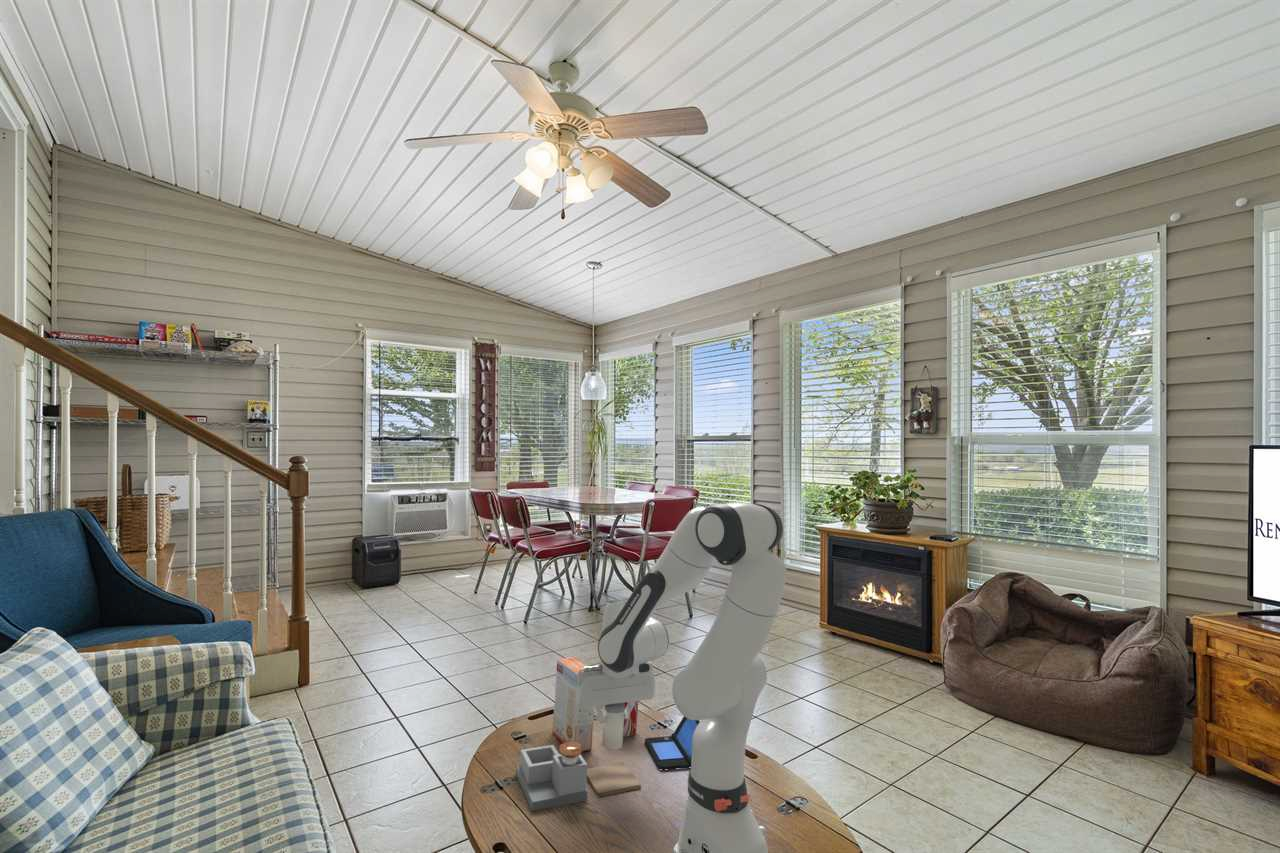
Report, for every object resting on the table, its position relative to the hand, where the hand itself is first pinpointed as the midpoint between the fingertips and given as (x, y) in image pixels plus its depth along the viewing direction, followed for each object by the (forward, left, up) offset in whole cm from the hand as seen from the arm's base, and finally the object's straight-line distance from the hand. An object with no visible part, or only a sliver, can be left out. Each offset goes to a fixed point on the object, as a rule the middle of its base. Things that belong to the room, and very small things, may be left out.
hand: (614, 719), depth 147 cm
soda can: (+22, -13, -15) cm, 29 cm away
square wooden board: (0, 0, -15) cm, 15 cm away
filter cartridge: (0, 0, -6) cm, 6 cm away
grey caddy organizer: (+2, +15, -15) cm, 21 cm away
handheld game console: (+6, -21, -15) cm, 27 cm away
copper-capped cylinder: (-3, +12, -11) cm, 16 cm away
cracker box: (+22, +3, -15) cm, 26 cm away
